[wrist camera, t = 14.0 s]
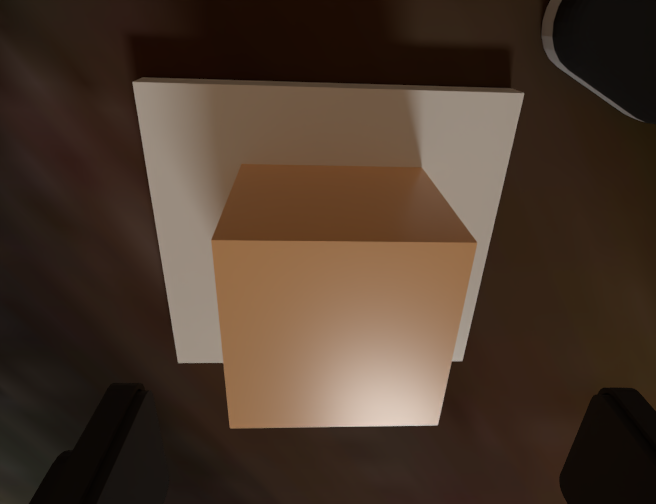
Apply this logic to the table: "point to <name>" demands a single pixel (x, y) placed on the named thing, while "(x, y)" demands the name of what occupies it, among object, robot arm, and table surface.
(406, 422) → the cardboard shipping carton
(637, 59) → the remote control
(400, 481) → the table surface
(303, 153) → the post base
